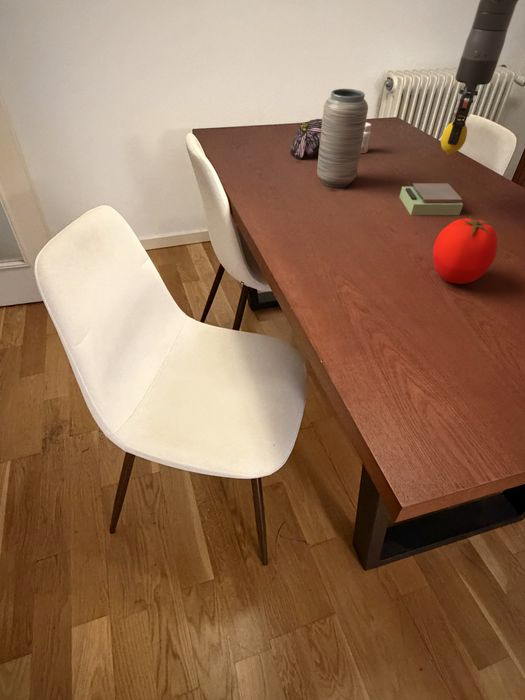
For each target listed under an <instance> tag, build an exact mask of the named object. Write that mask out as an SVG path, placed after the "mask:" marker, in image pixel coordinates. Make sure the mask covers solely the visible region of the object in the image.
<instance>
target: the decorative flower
mask: <svg viewBox="0 0 525 700" xmlns="http://www.w3.org/2000/svg"><path fill="white" fill-rule="evenodd" d="M322 119H323V118H315V119H310V120H308V121H304V122H302V123H301V125H300V127H299V128H298V129H297V131H296V133H295V136H294V138H293V140H292V142H291V146H290V152H289V153H290V155H293V156H294V157H295V159H296V160H300V161H301V160H302V159H303V157H304V154H305V152H306V154H307V155H308V156H309V158H312V156H315V154H316V153H317V151H319V146H320V137H321V128H322Z"/></svg>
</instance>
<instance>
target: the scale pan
mask: <svg viewBox="0 0 525 700" xmlns="http://www.w3.org/2000/svg"><path fill="white" fill-rule="evenodd" d="M411 187H413V189H414V190H415V191H416V193H417V194H418V196H419V197H420V198H421V200H422V201H423V202H462V201H463V198H462V197H461V196H460V195H459V194H458V193H457V191H455V189H454V188H453V187H452V186H451V185H450V184H449V183H447V182H446V183H444V182H443V183H441V182H440V183H439V182H438V183H437V182H436V183H434V182H433V183H429V182H428V183H427V182H425V183H419V182H418V183H416V182H415V183H414V182H413V183H412V184H411Z"/></svg>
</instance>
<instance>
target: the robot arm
mask: <svg viewBox="0 0 525 700" xmlns="http://www.w3.org/2000/svg"><path fill="white" fill-rule="evenodd" d="M519 1H520V0H479V2H478V4H477V7H476V8H477V9H476V11H475V15H474V17H473V21H472V25H471V27H470V31H469V33H468V36H467V38H466V40H465V43H464V47H463V51H462V53H461V57H460V61H459V64H458V68H457V70H456V73H455V77H454V79H455V80H456V81H457V82H458V83H461V84H464V86H463V88H461V89H459V93H458V95H457V100H456V101H457V103H456V106H455V109H454V112H453V115H454V120H453V121H452V122H453V124H452V125H453V126H452V130H451V134H450V137H449V140H448V144H451V145H457V143H458V140H459V137H460V134H461V131H462V128H463V127H464V126H465V125H466V123H467V118H469V117H470V115H471V113H472V110H473V107H474V104H475V103H476V102H477V98H478V95H479V90H477V87H478V86H479V85H481V86H484V85H488V84H490V83H491V82H492V80H493V77H494V74H495V72H496V68H497V66H498V62H499V60H500V58H501V55H502V52H503V48H504V45H505V42H506V38H507V34H508V30H509V27H510V25H511V22H512V19H513V17H514V13H515V11H516V7H517V4H518V3H519ZM458 119H460V120H458Z"/></svg>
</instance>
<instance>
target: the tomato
mask: <svg viewBox="0 0 525 700" xmlns="http://www.w3.org/2000/svg"><path fill="white" fill-rule="evenodd" d="M468 217H469V218H459V219H456V220H454V221H452V222H451V223H449V224H448V225H447V226H446V227H444V228H443V229H441V231H440V232H439V234H438V235H437V237H436V239H435V241H434V245H433V248H432V249H433V250H432V253H433V254H432V256H433V266H434V270H435V271H436V273H437V274H438V276H440V278H441V279H442V280H443V281H445V282H447V283H453V284H458V285H466V284H468V283H472V282H475V281H476V280H478V279H480V278H481V277H482V276H484V275H485V274H486V272H487V271H488V270H489V269H490V267H491V266H492V264H493V263H494V261H495V258H496V256H497V249H498V236H497V233H496V231H495V229H494V228H493V227H492V226H491V225H489V224H487V223H490V220H489V221H485V220H482V219H474V218H473V217H472V216H471V215H468Z"/></svg>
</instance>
